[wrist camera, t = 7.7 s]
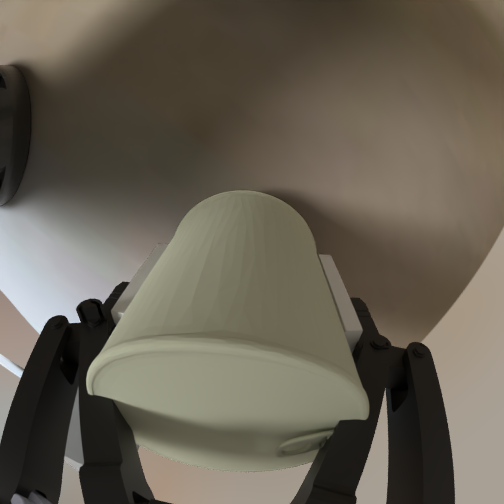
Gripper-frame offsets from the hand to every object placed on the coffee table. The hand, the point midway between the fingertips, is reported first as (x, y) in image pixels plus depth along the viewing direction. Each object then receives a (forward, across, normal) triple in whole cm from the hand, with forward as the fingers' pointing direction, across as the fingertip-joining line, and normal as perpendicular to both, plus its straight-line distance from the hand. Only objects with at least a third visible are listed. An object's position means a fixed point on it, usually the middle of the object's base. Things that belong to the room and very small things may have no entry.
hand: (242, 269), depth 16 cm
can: (+1, 0, 0) cm, 1 cm away
